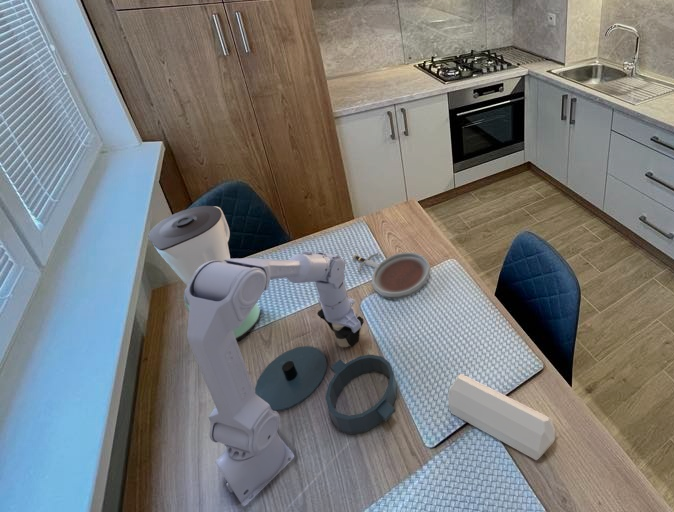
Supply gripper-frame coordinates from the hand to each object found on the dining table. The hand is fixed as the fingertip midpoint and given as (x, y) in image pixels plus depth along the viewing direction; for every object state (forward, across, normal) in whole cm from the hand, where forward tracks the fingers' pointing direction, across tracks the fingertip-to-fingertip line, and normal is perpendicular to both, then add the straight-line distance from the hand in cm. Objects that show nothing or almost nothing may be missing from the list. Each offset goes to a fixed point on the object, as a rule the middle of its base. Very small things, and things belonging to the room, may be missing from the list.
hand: (345, 335), depth 101 cm
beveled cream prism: (+2, -43, -7) cm, 44 cm away
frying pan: (+2, +10, -21) cm, 23 cm away
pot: (+2, -16, +6) cm, 17 cm away
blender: (+2, +29, +14) cm, 32 cm away
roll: (+2, 0, 0) cm, 2 cm away
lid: (+1, +2, +13) cm, 13 cm away
